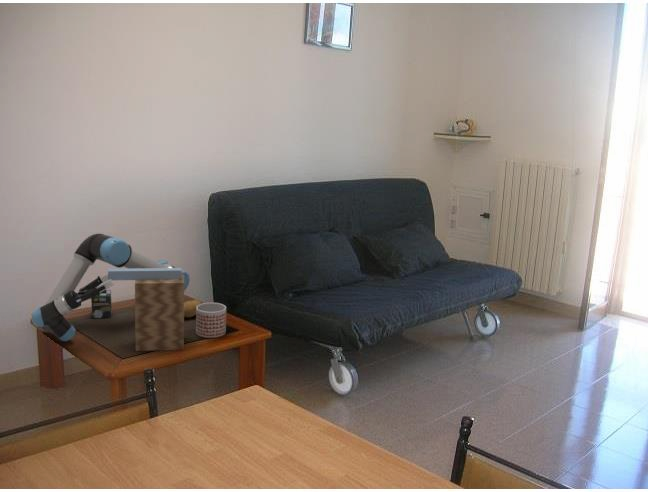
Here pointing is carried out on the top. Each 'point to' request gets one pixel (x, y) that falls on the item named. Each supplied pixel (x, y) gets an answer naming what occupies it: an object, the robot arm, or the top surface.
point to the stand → (159, 314)
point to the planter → (211, 320)
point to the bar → (144, 274)
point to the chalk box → (102, 305)
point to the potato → (190, 308)
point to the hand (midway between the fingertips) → (113, 277)
